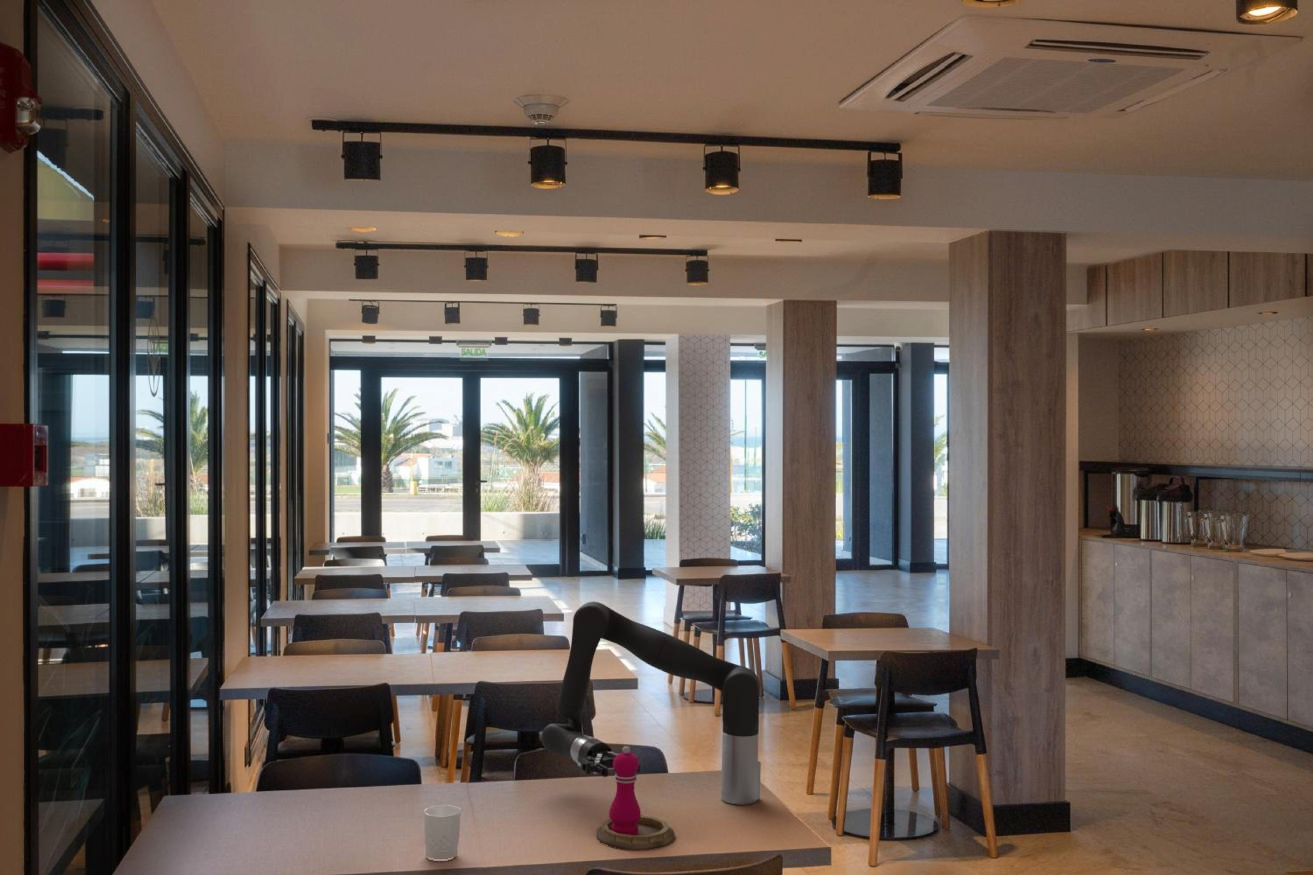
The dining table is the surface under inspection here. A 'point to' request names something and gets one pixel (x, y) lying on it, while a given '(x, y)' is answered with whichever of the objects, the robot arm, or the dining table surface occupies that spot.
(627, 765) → the pepper mill
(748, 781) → the robot arm
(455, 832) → the white cup
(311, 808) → the dining table surface
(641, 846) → the tray
